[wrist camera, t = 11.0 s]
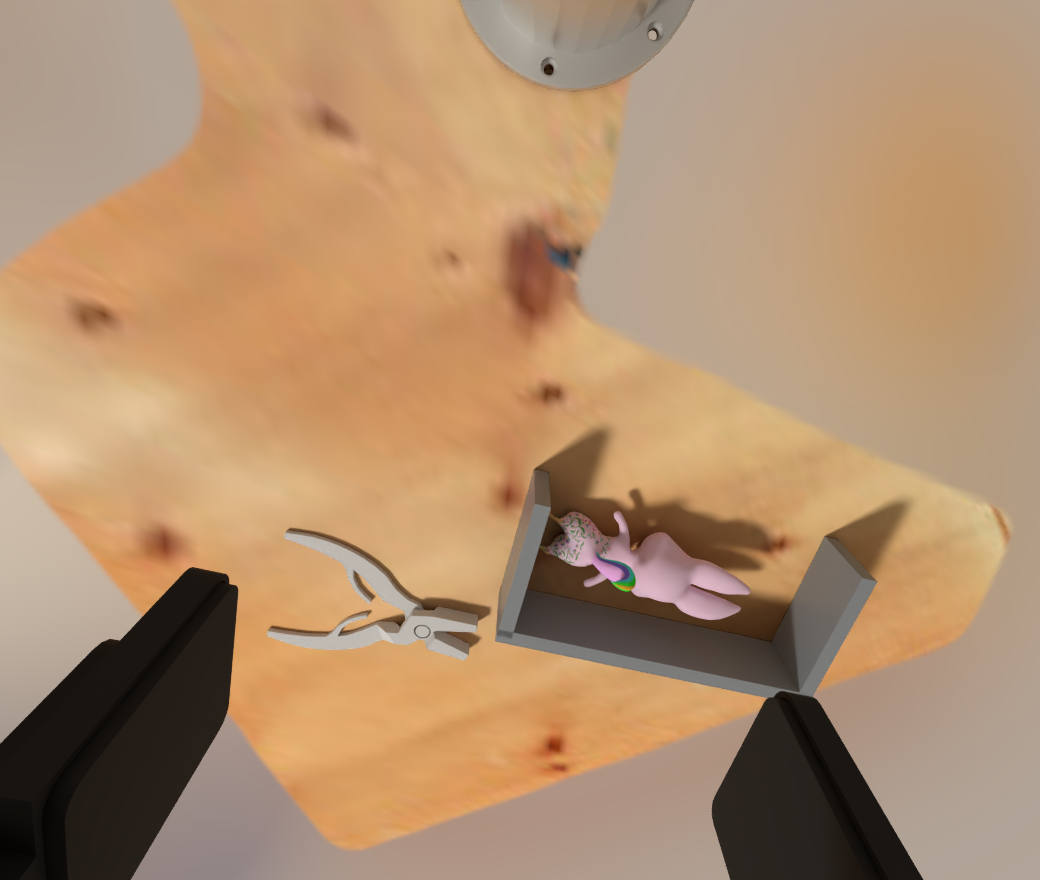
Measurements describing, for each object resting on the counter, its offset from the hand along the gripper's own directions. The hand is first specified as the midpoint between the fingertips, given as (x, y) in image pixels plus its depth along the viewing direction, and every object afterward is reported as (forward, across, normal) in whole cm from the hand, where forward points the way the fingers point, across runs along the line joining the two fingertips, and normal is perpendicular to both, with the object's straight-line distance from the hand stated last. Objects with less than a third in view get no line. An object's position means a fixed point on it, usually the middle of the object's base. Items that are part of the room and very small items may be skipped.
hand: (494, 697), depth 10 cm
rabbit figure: (+29, -12, +12) cm, 33 cm away
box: (+28, -14, +13) cm, 34 cm away
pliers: (+29, +6, +22) cm, 37 cm away
